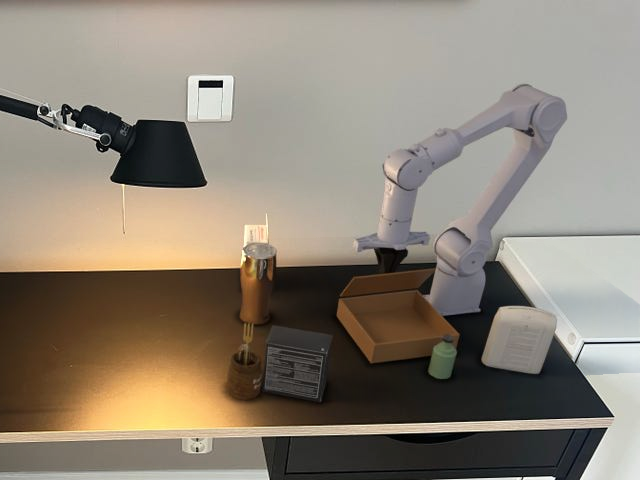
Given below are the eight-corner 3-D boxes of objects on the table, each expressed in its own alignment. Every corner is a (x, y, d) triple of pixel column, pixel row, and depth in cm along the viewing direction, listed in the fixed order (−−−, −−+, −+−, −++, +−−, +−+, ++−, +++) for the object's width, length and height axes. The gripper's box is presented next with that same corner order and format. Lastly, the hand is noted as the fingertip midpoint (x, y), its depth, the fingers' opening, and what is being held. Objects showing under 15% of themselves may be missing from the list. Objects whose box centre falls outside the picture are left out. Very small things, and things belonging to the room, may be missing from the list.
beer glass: (271, 308, 155) (277, 243, 147) (272, 326, 150) (278, 259, 141) (237, 307, 156) (241, 241, 147) (237, 325, 150) (241, 258, 142)
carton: (336, 317, 152) (339, 298, 150) (413, 308, 155) (417, 289, 152) (370, 364, 139) (374, 345, 136) (454, 354, 141) (459, 334, 139)
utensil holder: (225, 399, 131) (228, 342, 124) (228, 378, 136) (231, 322, 129) (259, 402, 130) (264, 345, 123) (261, 381, 135) (266, 324, 128)
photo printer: (539, 364, 139) (559, 306, 131) (542, 377, 135) (562, 319, 128) (480, 354, 141) (497, 298, 134) (481, 367, 138) (498, 310, 131)
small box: (327, 382, 135) (334, 333, 129) (321, 404, 130) (328, 354, 124) (268, 371, 138) (273, 322, 131) (260, 392, 133) (265, 342, 126)
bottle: (443, 366, 138) (453, 329, 134) (454, 378, 135) (464, 342, 131) (423, 368, 138) (432, 332, 133) (434, 381, 135) (443, 344, 130)
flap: (339, 296, 149) (339, 295, 150) (418, 288, 152) (417, 286, 152) (354, 278, 142) (353, 277, 142) (436, 269, 144) (435, 268, 144)
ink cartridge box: (241, 272, 168) (245, 210, 160) (263, 272, 168) (268, 211, 160) (242, 291, 161) (246, 228, 153) (265, 291, 161) (270, 228, 153)
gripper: (368, 228, 136) (357, 293, 143) (443, 221, 138) (428, 285, 146) (353, 212, 141) (343, 276, 149) (424, 205, 143) (411, 268, 151)
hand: (384, 279), depth 148 cm, fingers closed
